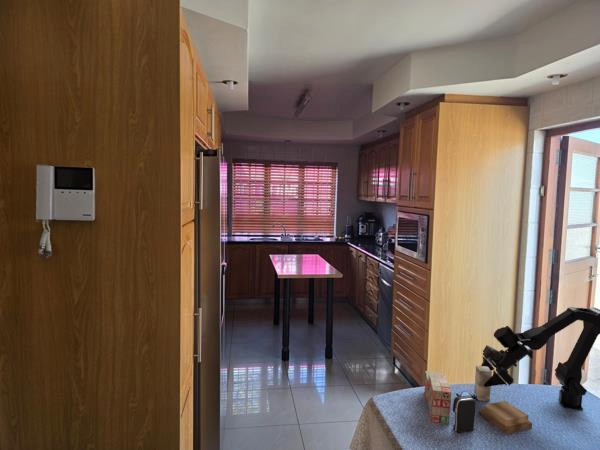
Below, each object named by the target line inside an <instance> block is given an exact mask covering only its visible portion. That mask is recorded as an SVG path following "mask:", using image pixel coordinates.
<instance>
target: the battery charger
mask: <svg viewBox="0 0 600 450" xmlns="http://www.w3.org/2000/svg"><path fill="white" fill-rule="evenodd" d="M476 403H477V402H476V401H475V399H474V398H472V397H471V396H469V395H462V396H456V397H455V398H454V399H453V403H452V405H453V406H452V411H453V412H454V425H453V430H454V431H455V432H457V433H465V432H472V431H474V430H475V419H476V410H477V409H476V408H477V407H476V405H477V404H476Z"/></svg>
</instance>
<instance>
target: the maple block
mask: <svg viewBox="0 0 600 450" xmlns="http://www.w3.org/2000/svg"><path fill="white" fill-rule="evenodd" d="M483 409H484V412H485V413H486V414H488V415H489V416H491V417H492V418H494V419H495V420H496V421H498V422H499V423H501V424H502V425H504V426H505V427H509V426H513V425H518V424H522V423H526V422H528V420H529V414H527V413H526V412H524V411H522V410H521V409H519V408H518V407H516V406H515V405H513V404H511V403H509V402H508V401H506V400H503V401H501V400H500V401H497V402H492V403H486V404H484V405H483Z"/></svg>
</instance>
